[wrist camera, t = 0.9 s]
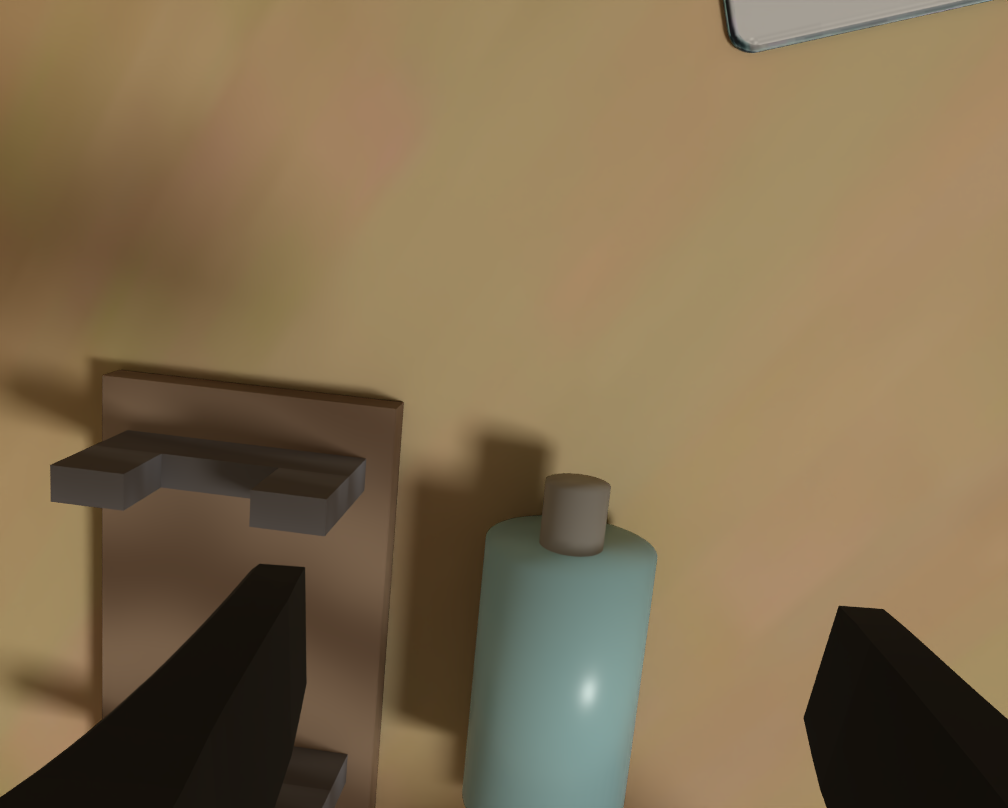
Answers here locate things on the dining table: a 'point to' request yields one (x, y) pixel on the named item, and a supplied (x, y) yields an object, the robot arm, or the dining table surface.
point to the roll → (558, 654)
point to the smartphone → (817, 18)
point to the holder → (249, 544)
